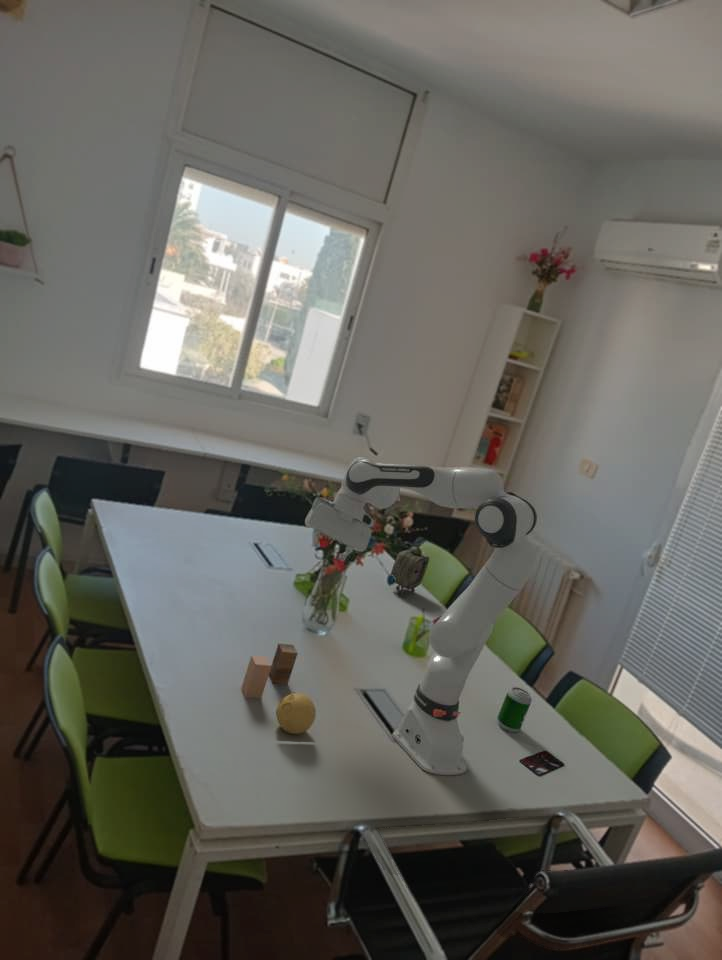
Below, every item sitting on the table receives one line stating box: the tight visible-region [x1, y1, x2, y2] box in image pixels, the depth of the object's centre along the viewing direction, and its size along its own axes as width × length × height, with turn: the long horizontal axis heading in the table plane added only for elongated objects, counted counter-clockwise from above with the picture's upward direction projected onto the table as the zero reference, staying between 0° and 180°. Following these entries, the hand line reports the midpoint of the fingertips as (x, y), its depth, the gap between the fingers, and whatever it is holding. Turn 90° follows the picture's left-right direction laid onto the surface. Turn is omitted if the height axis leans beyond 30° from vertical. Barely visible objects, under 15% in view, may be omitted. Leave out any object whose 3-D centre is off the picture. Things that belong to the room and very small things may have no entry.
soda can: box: [496, 686, 533, 733], centre depth 226 cm, size 8×8×12 cm
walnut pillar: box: [268, 643, 299, 685], centre depth 209 cm, size 4×4×10 cm
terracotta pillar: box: [241, 655, 272, 700], centre depth 198 cm, size 4×4×10 cm
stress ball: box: [275, 692, 316, 735], centre depth 188 cm, size 10×10×10 cm
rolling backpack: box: [390, 537, 430, 597], centre depth 310 cm, size 14×9×25 cm, turn 148°
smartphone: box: [519, 749, 565, 777], centre depth 212 cm, size 7×1×15 cm
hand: (327, 553), depth 213 cm, fingers open, 8 cm apart
